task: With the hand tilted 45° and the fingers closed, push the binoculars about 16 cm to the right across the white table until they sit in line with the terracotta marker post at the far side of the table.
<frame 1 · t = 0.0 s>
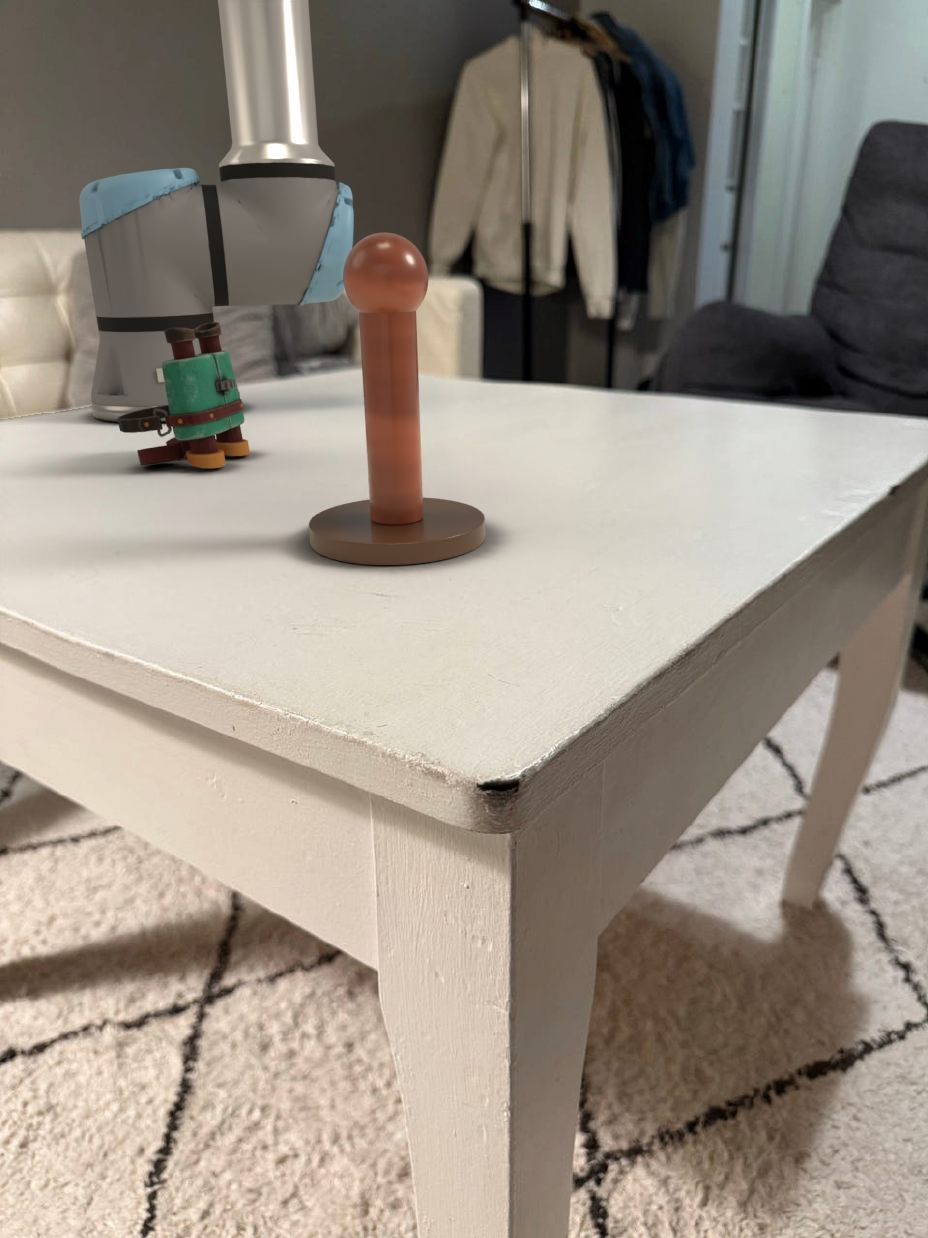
marker post: (398, 538, 52), on the table
binoculars: (186, 463, 74), on the table
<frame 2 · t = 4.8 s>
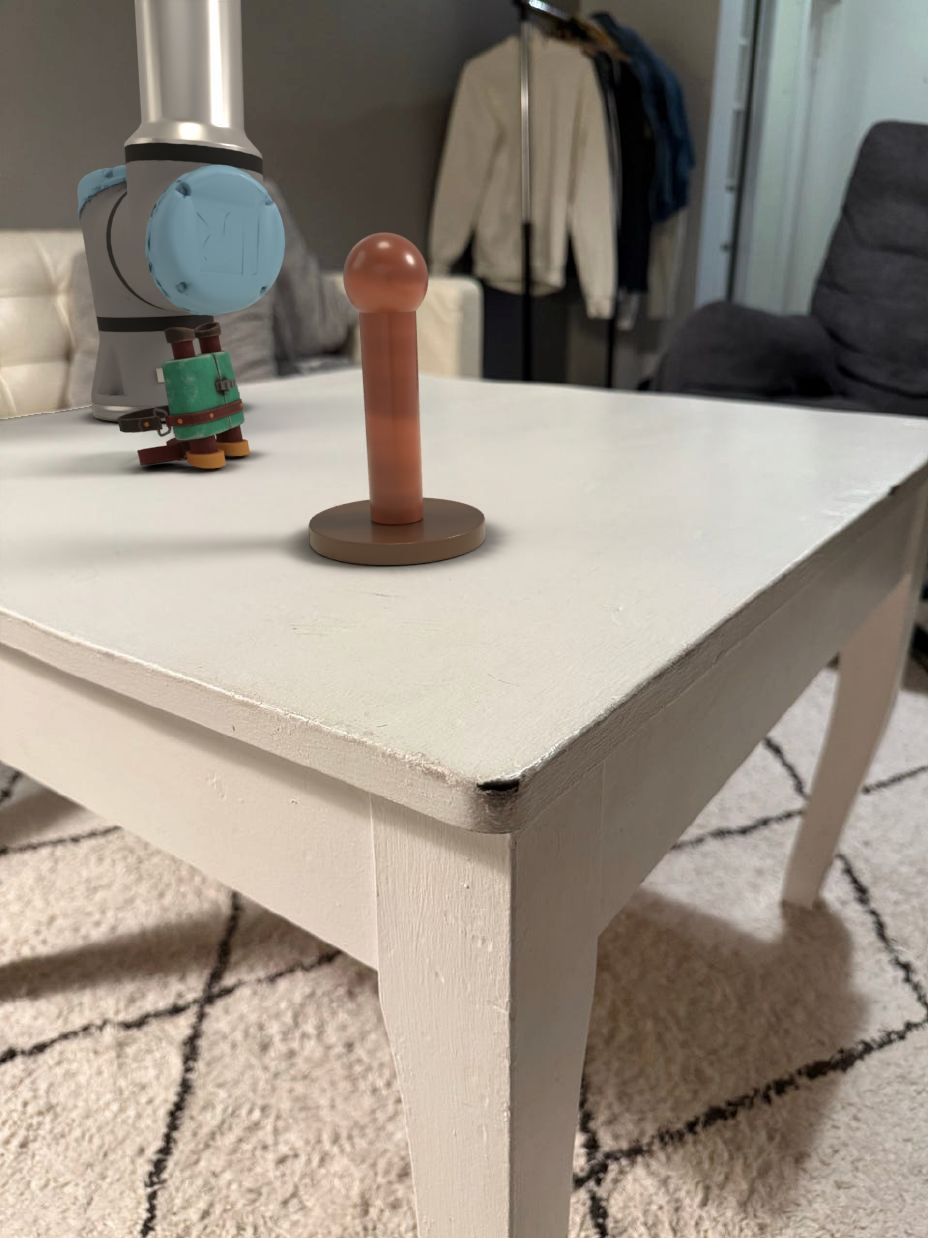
nothing on the table moved.
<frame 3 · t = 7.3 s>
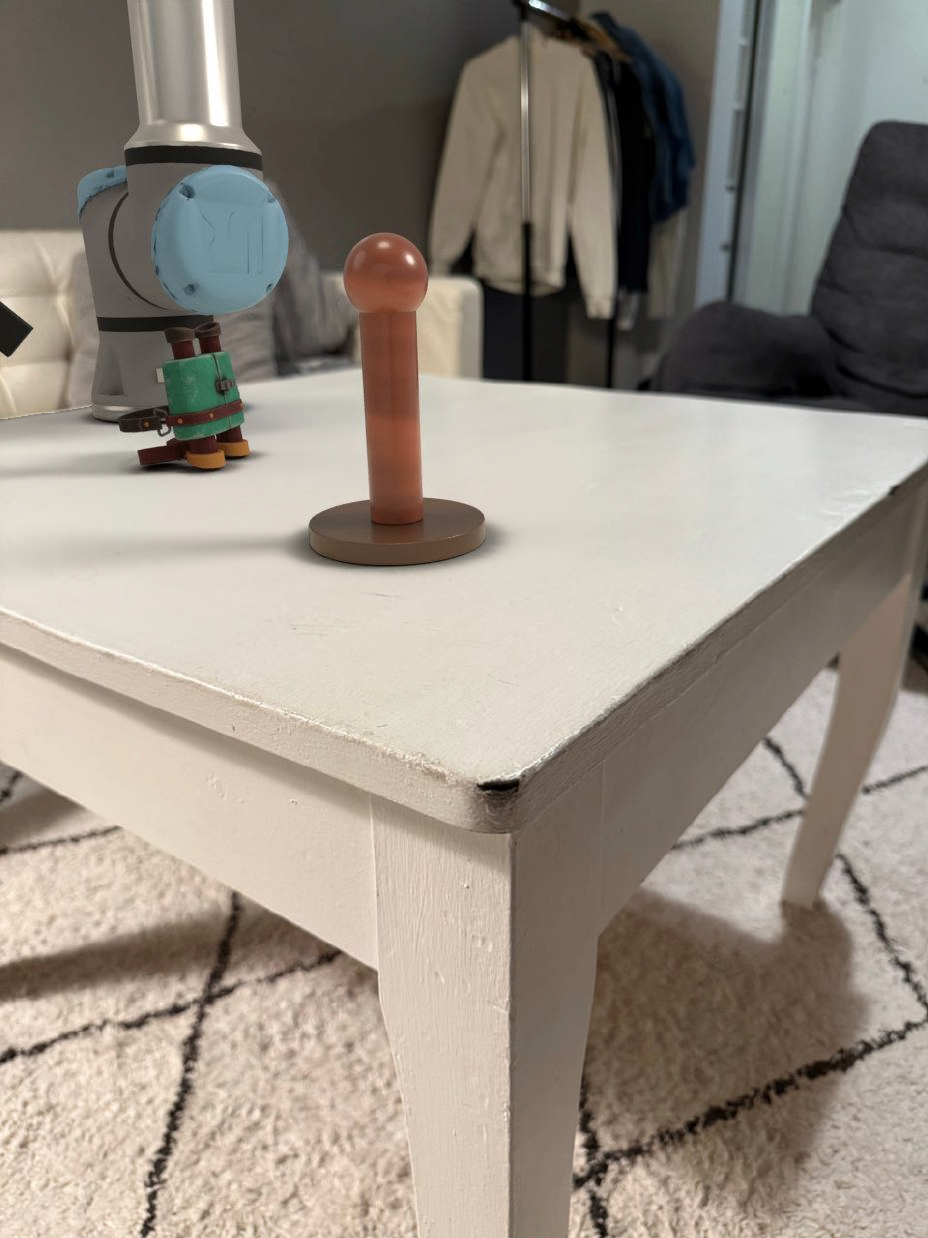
hand: (20, 342, 68), 10 cm above the table, tool tilted 45°, fingers closed
nothing on the table moved.
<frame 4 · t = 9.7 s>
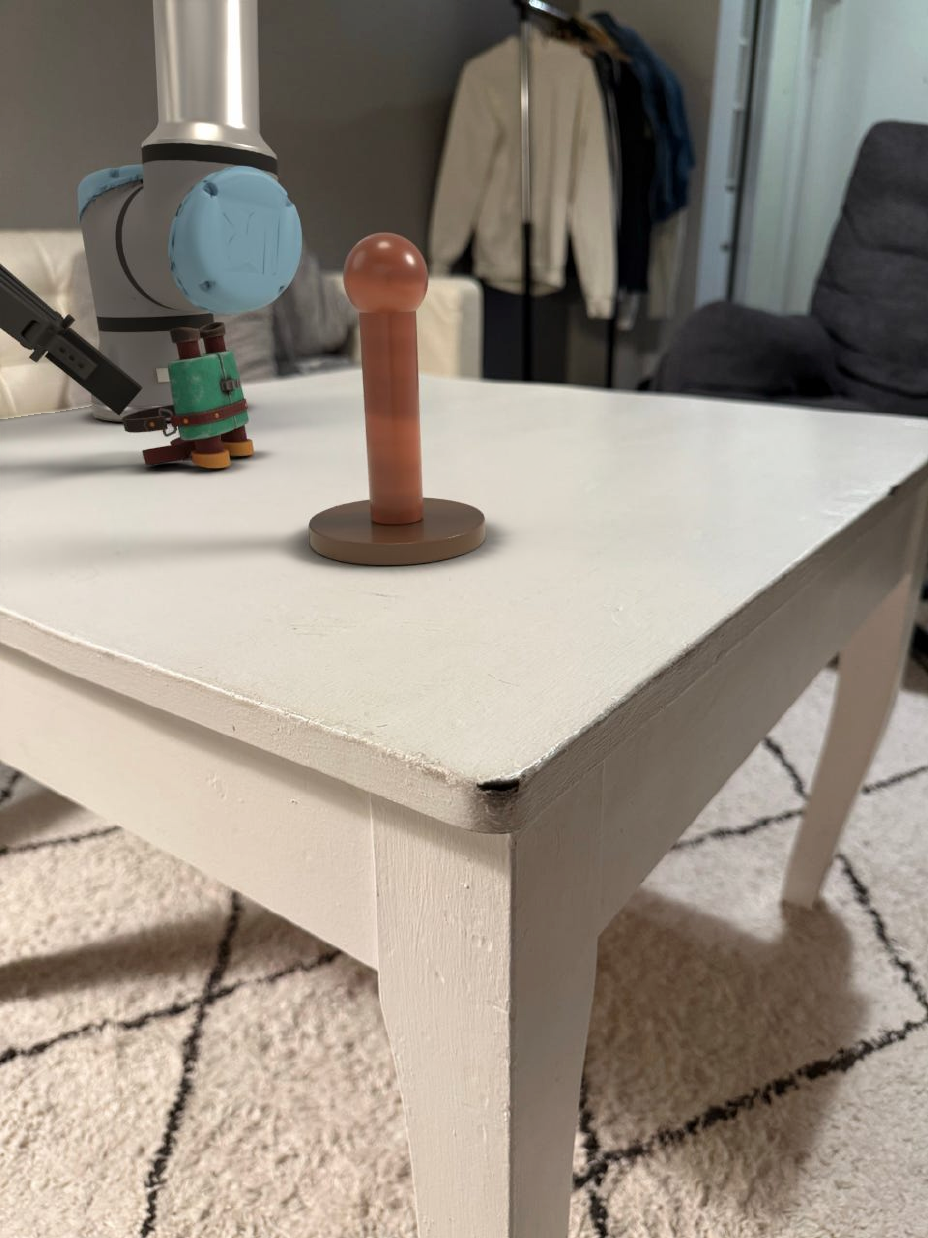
hand: (130, 401, 71), 5 cm above the table, tool tilted 45°, fingers closed
binoculars: (190, 463, 74), on the table, touching gripper
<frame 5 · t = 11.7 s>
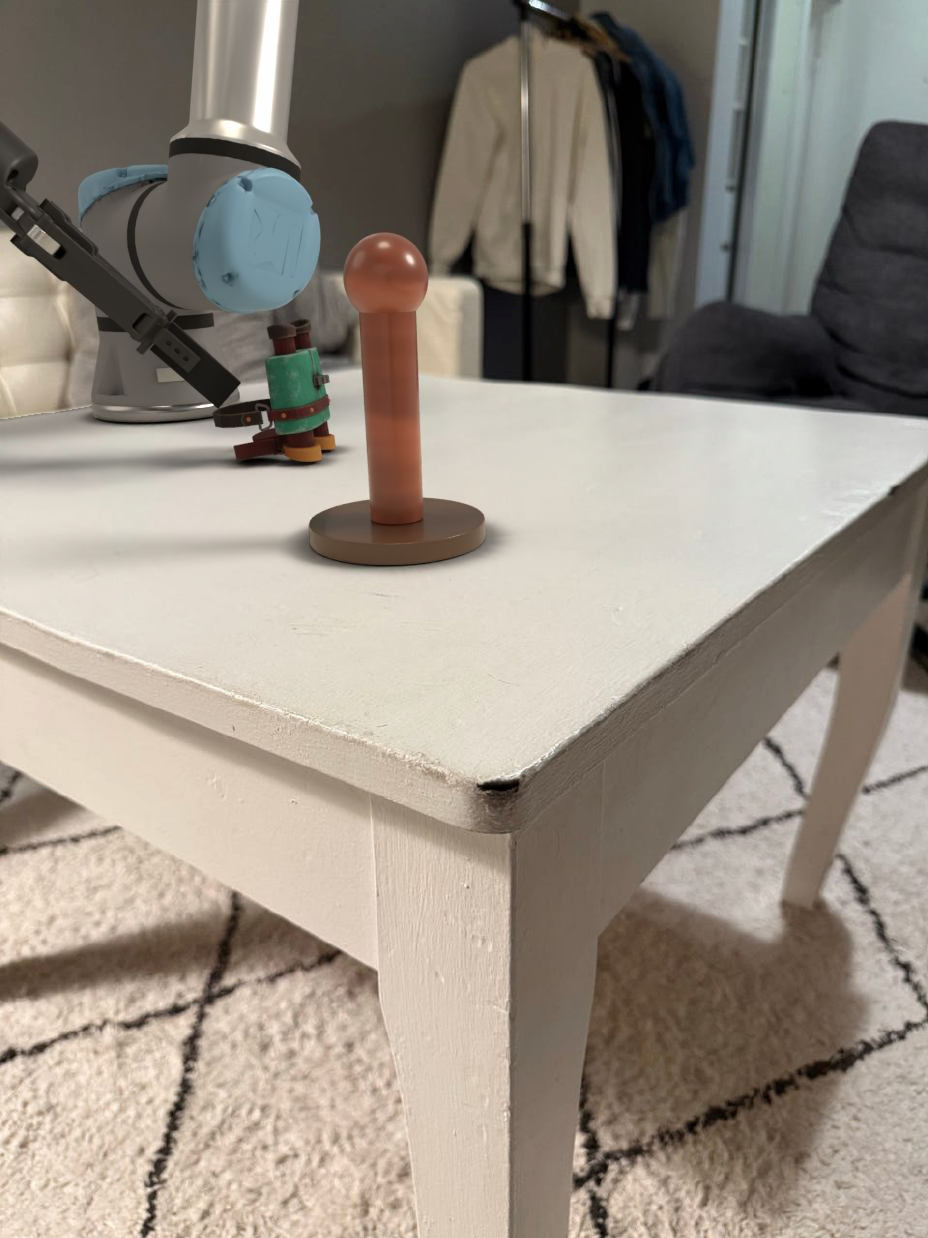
hand: (229, 394, 72), 5 cm above the table, tool tilted 45°, fingers closed
binoculars: (276, 458, 75), on the table, touching gripper
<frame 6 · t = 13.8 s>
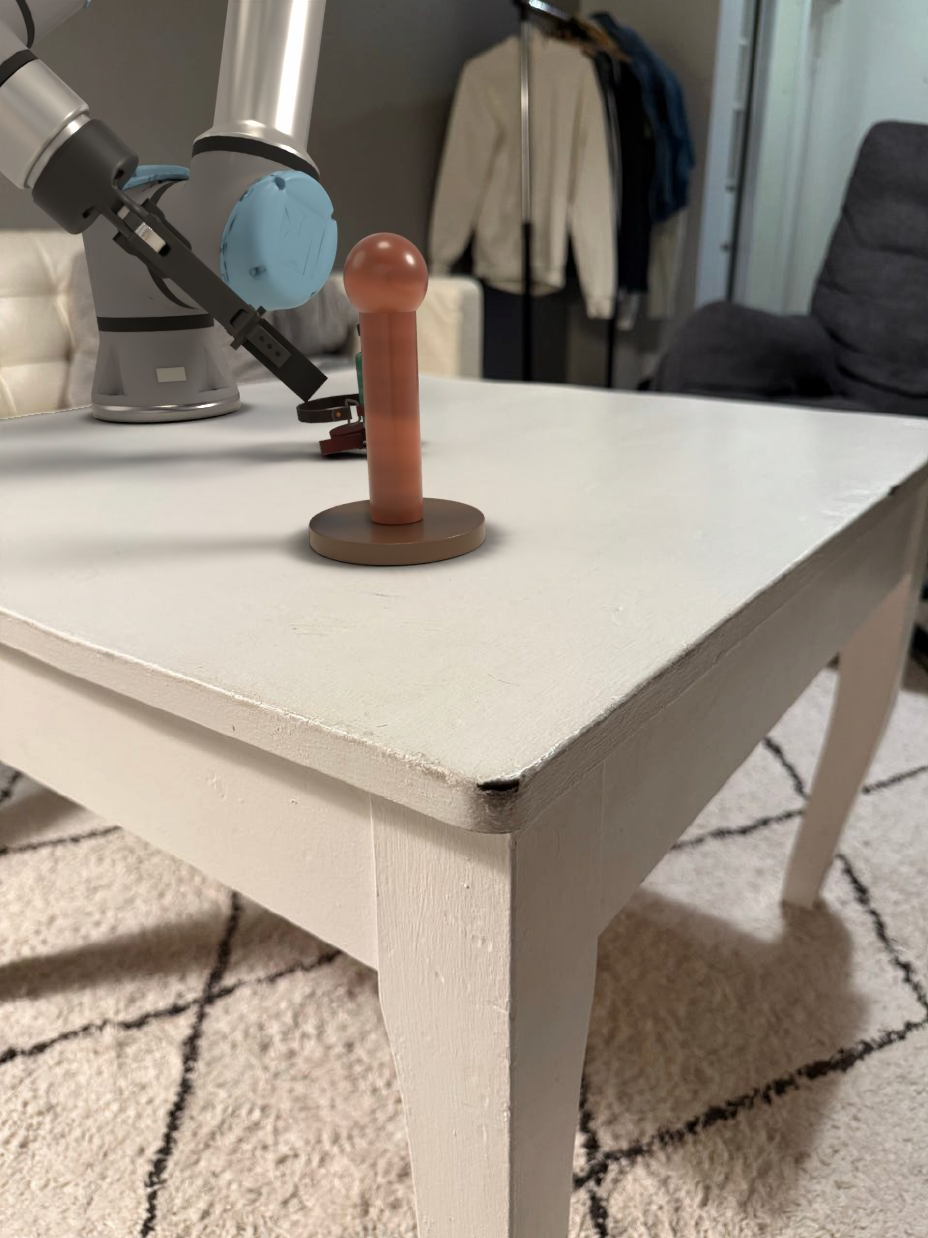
hand: (315, 389, 74), 5 cm above the table, tool tilted 45°, fingers closed on binoculars
binoculars: (356, 453, 77), on the table, touching gripper
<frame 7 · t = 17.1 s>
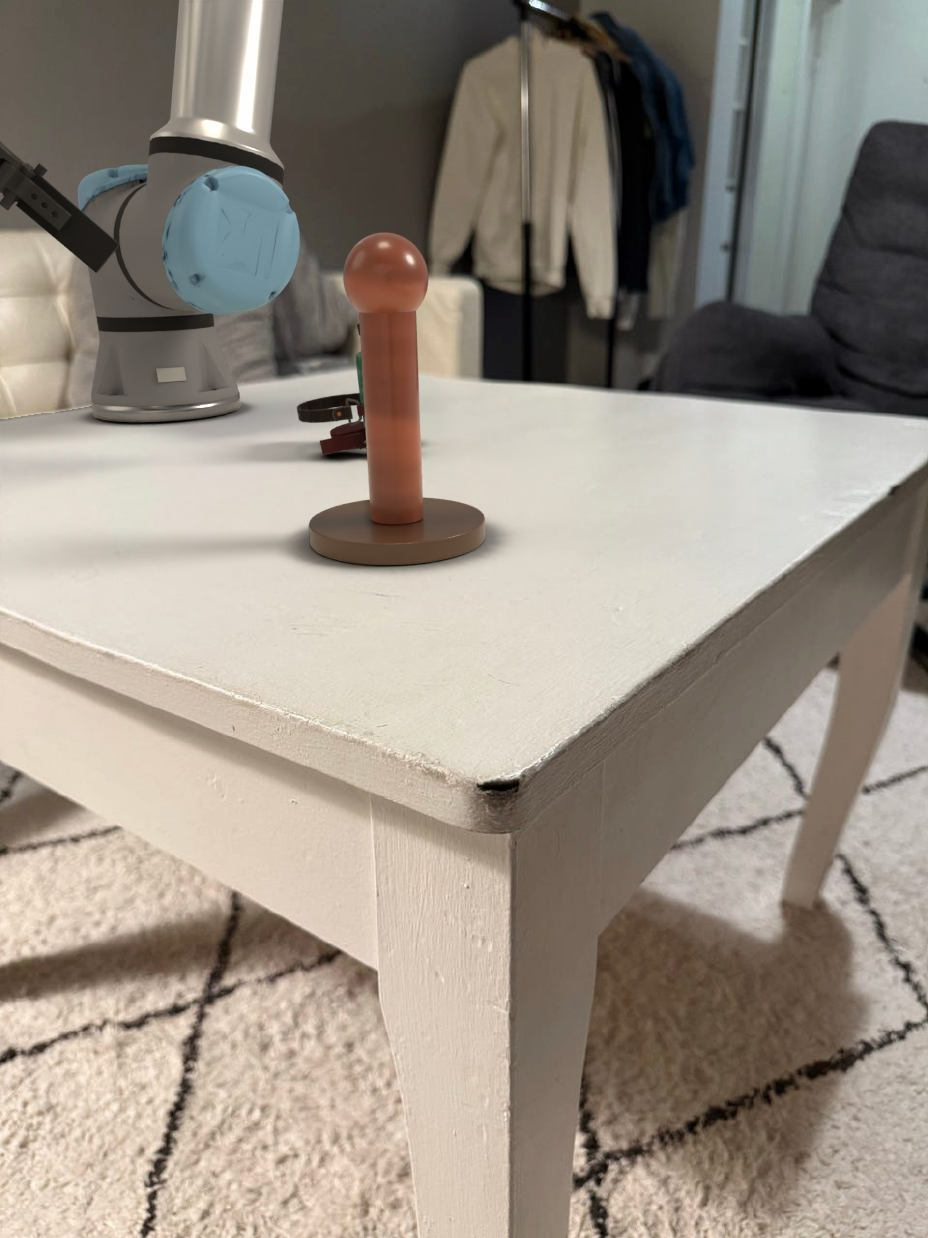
hand: (107, 258, 68), 15 cm above the table, tool tilted 45°, fingers closed
binoculars: (357, 452, 77), on the table
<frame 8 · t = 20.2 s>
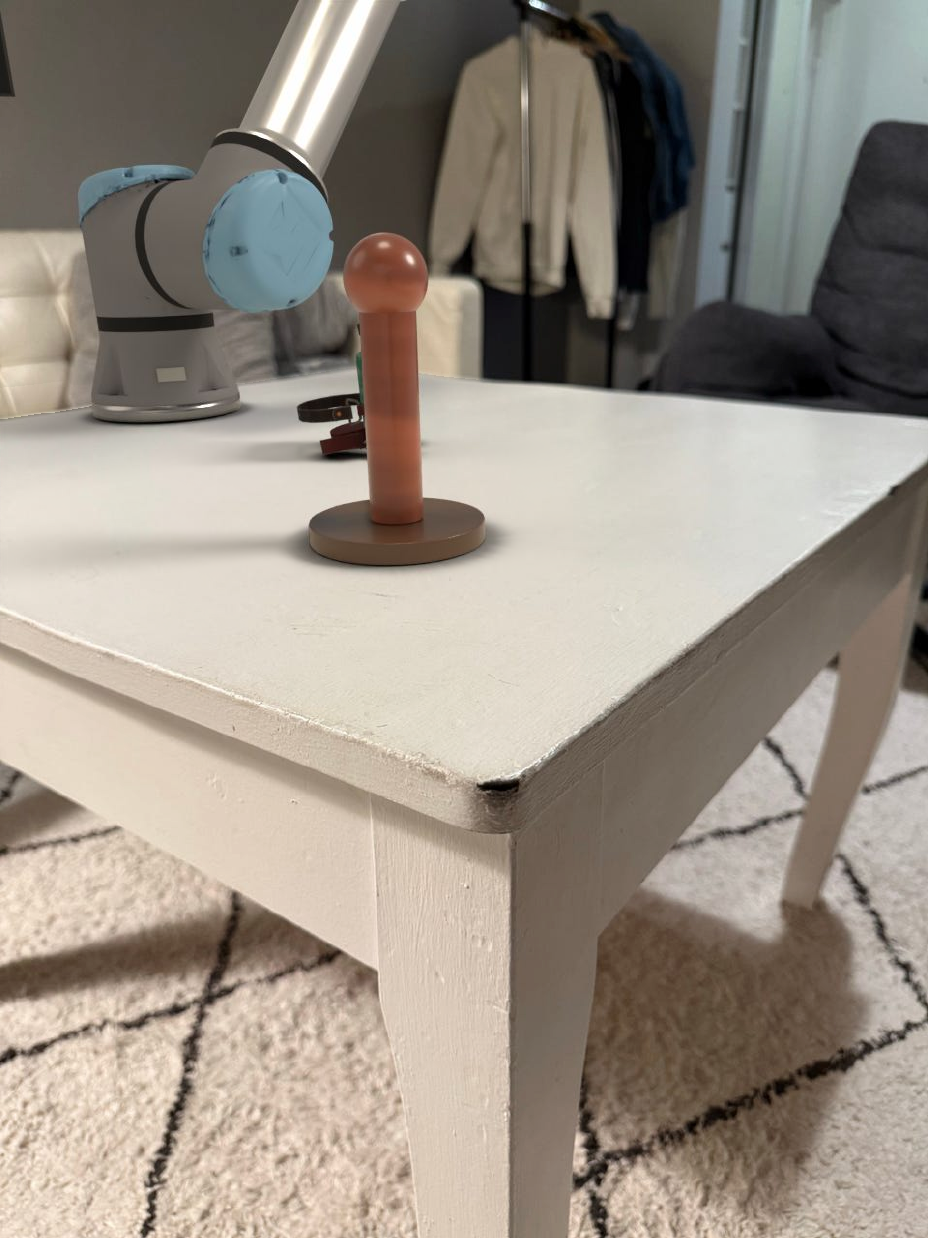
nothing on the table moved.
at the end: binoculars inside the target area on the table beside the marker post (0.7 cm from its centre), on the table; binoculars moved 13.9 cm from its start; binoculars tilted 0° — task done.
